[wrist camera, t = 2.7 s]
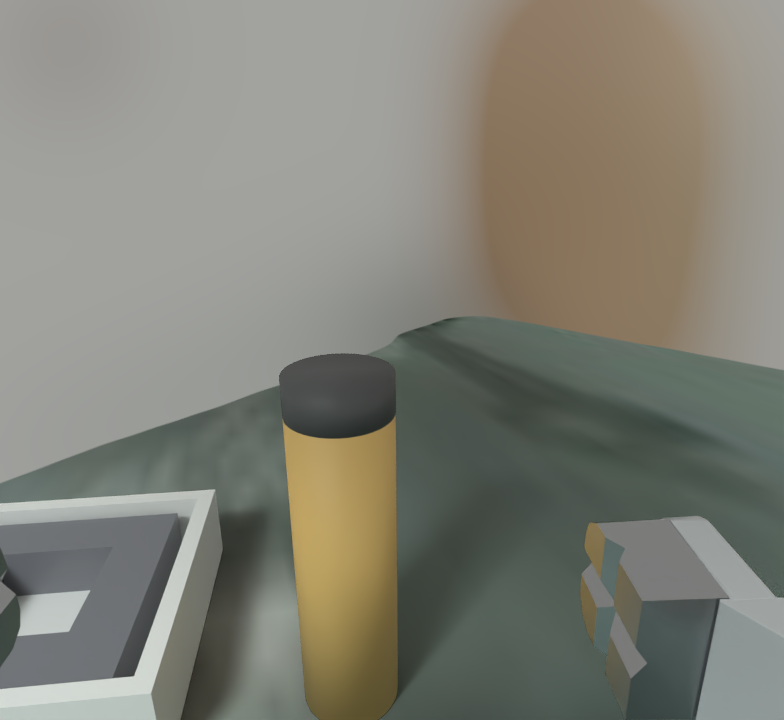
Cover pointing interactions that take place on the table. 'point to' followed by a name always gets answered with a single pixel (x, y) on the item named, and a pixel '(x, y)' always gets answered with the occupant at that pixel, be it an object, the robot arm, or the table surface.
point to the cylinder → (344, 529)
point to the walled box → (107, 603)
